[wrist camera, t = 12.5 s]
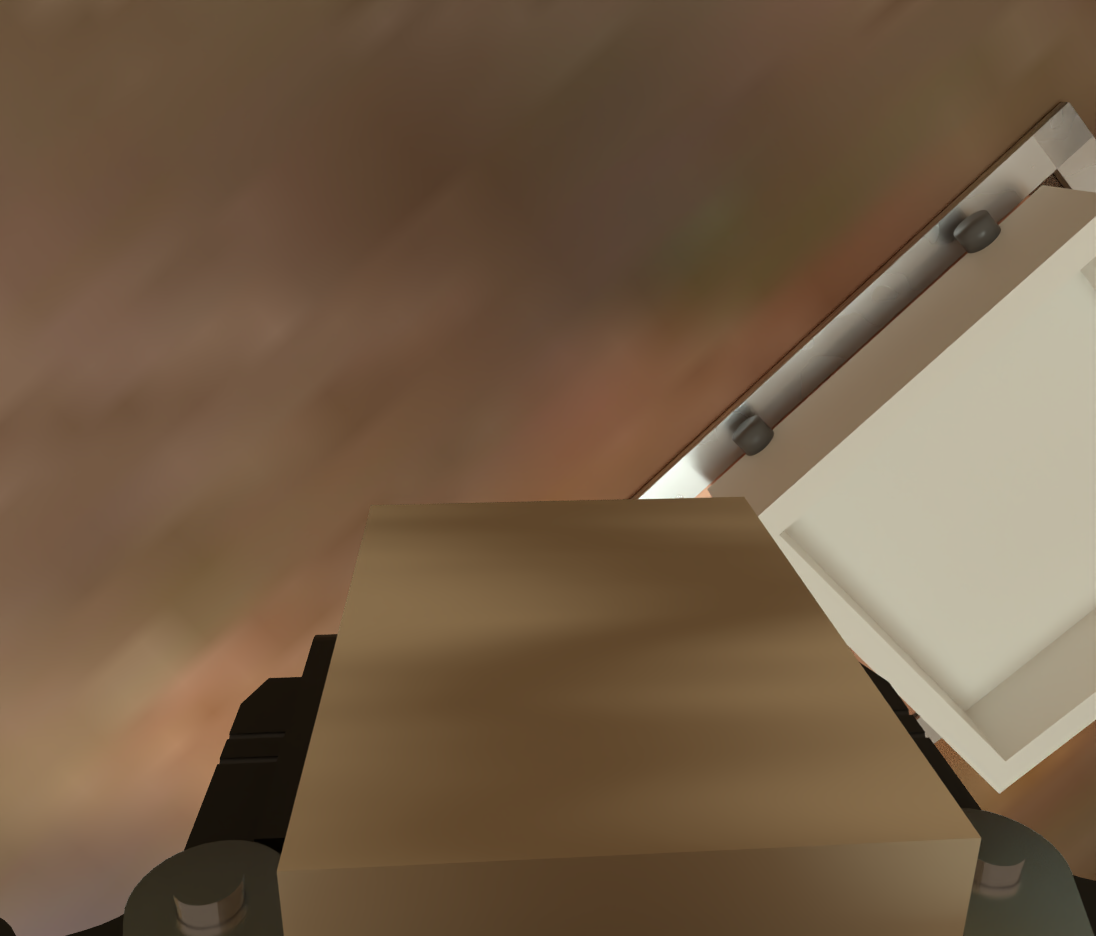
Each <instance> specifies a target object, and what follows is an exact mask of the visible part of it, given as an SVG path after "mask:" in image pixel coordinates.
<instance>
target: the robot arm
mask: <svg viewBox="0 0 1096 936" xmlns="http://www.w3.org/2000/svg"><path fill="white" fill-rule="evenodd" d="M337 635H338V634H332V635H315V637H314V639H313V642H312V645H311V648H310V652H309V655H308V658H307V662H306V665H305V668H304V672H303V675H302V677H290V678H269V679H267V680H266V681H265V682H264V683H263V684H262V685H261V686H260V687H259V688H258V689H257V690H256V691H254V692H253V693H252V694H251V695H250V696H249V697H248V698H247V699H246V700H245V701H244V702H243V703H242V704H241V705H240V708H239V710H238V713H237V715H236V718H235V720H234V723H233V726H232V728H231V731H230V733H229V735H230V737H229V739H227V741H226V744H225V746H224V749H223V751H222V754H221V757H220V764H217V767H216V769H215V772H214V775H213V777H212V780H211V782H210V785H209V787H208V790H207V793H206V795H205V798H204V800H203V803H202V805H201V808H200V811H199V813H198V816H197V818H196V821H195V823H194V826H193V829H192V831H191V834H190V836H189V839H188V841H187V844H186V847H185V849H184V851H182V852H180V853H177V854H176V855H174V856H172V857H170V858H168V859H166V860H165V861H163V862H162V863H160V864H159V865H157V866H156V867H155V868H153V869H152V870H151V871H150V872H149V873H148V874H147V875H145V876H144V877H143V878H142V880H141V881H140V882H139V883H138V884H137V885H136V887H135V888H134V890H133V891H132V893H131V895H130V896H129V898H128V901H127V903H126V906H125V910H124V914H123V915H121V916H120V917H118V918H115V919H113V920H111V921H109V922H106V923H104V924H102V925H99V926H96V927H93V928H90V929H87V930H84V931H81V932H77V933H74V934H70V935H67V936H284V932H283V923H282V914H281V905H280V896H279V888H278V879H277V868H278V864H279V861H280V857H281V853H282V849H283V845H284V841H285V837H286V833H287V829H288V826H289V822H290V818H291V814H292V810H293V806H294V802H295V798H296V795H297V791H298V787H299V783H300V779H301V775H302V771H303V767H304V763H305V760H306V756H307V752H308V748H309V744H310V740H311V736H312V732H313V728H314V725H315V721H316V717H317V713H318V709H319V705H320V701H321V697H322V693H323V690H324V686H325V682H326V678H327V674H328V670H329V666H330V662H331V659H332V655H333V651H334V647H335V643H336V639H337ZM859 663H860V662H859ZM860 664H861V663H860ZM861 666H862V667H863V668H864V670H865V671H866V673H867V674H868V676H869V677H870V679H871V680H872V681H873V683H874V684H875V686H876V687H877V689H878V690H879V691H880V693H881V694H882V696H883V697H884V699H885V700H886V702H887V703H888V704H889V706H890V707H891V709H892V710H893V712H894V713H895V714H896V716H897V717H898V719H899V720H900V722H901V723H902V725H903V726H904V727H905V729H906V730H907V732H908V733H909V735H910V736H911V737H912V739H913V740H914V742H915V743H916V745H917V746H918V748H919V749H920V750H921V752H922V753H923V755H924V756H925V758H926V759H927V760H928V762H929V763H930V765H931V766H932V768H933V769H934V771H935V772H936V773H937V775H938V776H939V778H940V779H941V781H942V782H943V783H944V785H945V786H946V788H947V789H948V791H949V792H950V793H951V795H952V796H953V798H954V799H955V801H956V802H957V804H958V805H959V806H960V808H961V809H962V811H963V812H964V814H965V815H966V816H967V818H968V819H969V821H970V822H971V824H972V825H973V827H974V828H975V829H976V831H977V832H978V834H979V835H980V837H981V843H980V848H979V853H978V859H977V864H976V869H975V874H974V880H973V885H972V890H971V895H970V901H969V906H968V911H967V917H966V922H965V927H964V932H963V936H1096V881H1093V880H1089V879H1085V878H1080V877H1077V876H1074V875H1072V872H1071V870H1070V868H1069V866H1068V864H1067V862H1066V860H1065V859H1064V858H1063V856H1062V855H1061V853H1060V852H1059V851H1058V850H1057V849H1056V848H1055V847H1054V846H1053V845H1052V844H1051V843H1050V842H1048V841H1047V840H1046V839H1045V838H1043V837H1042V836H1041V835H1039V834H1038V833H1036V832H1035V831H1033V830H1032V829H1030V828H1028V827H1026V826H1024V825H1023V824H1021V823H1019V822H1017V821H1014V820H1012V819H1009V818H1007V817H1004V816H1002V815H998V814H995V813H991V812H988V811H983V810H981V808H980V807H979V806H978V804H977V803H976V802H975V800H974V799H973V797H972V796H971V795H970V793H969V792H968V790H967V789H966V788H965V786H964V785H963V784H962V782H961V781H960V779H959V778H958V777H957V775H956V774H955V773H954V771H953V770H952V768H951V767H950V766H949V764H948V763H947V761H946V760H945V759H944V757H943V756H942V755H941V753H940V752H939V750H938V749H937V748H936V746H935V745H934V744H933V742H932V741H931V739H930V738H926V737H925V731H924V730H923V728H922V727H921V726H920V724H919V723H918V721H917V720H916V719H915V717H914V716H913V715H909V709H908V708H907V706H906V705H905V703H904V702H903V701H902V699H901V698H900V697H899V695H898V694H897V692H896V691H895V690H894V688H893V687H892V686H891V684H890V683H889V682H888V681H887V680H885V679H884V678H882V677H881V676H879V675H878V674H876V673H875V672H873V671H872V670H870V669H869V668H867V667H866V666H864V665H863V664H861ZM0 936H16V935H15V933H14V931H13V930H12V928H11V926H10V925H9V924H8V923H7V922H6V921H5V920H3V919H1V918H0Z"/></svg>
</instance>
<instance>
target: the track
mask: <svg viewBox="0 0 1096 936" xmlns="http://www.w3.org/2000/svg"><path fill="white" fill-rule="evenodd" d="M1052 173H1053V174H1054V175H1055V176H1056V178H1057V179H1058V180H1059V182H1060V183H1061V184H1062V186H1063V187H1064V188H1066V189H1073V190H1081V191H1088V192H1095V193H1096V139H1095V138H1094V136H1093V135H1092V134H1091V132H1090V131H1089V129H1088V128H1087V127H1086V125H1085V124H1084V122H1083V121H1082V120H1081V118H1080V117H1079V115H1078V114H1077V113H1076V111H1075V110H1074V108H1073V107H1072V106H1071V104H1070V103H1069V102H1060V103H1059V104H1058V105H1057V106H1056V107H1055V108H1054V109H1053V110H1052V111H1051V112H1049V113H1048V114H1047V115H1046V116H1045V117H1044V118H1043V119H1042V120H1041V121H1040V122H1039V123H1038V124H1036V125H1035V126H1034V127H1033V128H1032V129H1031V130H1030V131H1029V132H1028V133H1027V134H1026V135H1025V136H1023V137H1022V138H1021V139H1020V140H1019V141H1018V142H1017V143H1016V144H1015V145H1014V146H1013V147H1012V148H1010V149H1009V150H1008V151H1007V152H1006V153H1005V154H1004V155H1003V156H1002V157H1001V158H1000V159H999V160H997V161H996V162H995V163H994V164H993V165H992V166H991V167H990V168H989V169H988V170H987V171H986V172H984V173H983V174H982V175H981V176H980V177H979V178H978V179H977V180H976V181H975V182H974V183H973V184H971V185H970V186H969V187H968V188H967V189H966V190H965V191H964V192H963V193H962V194H961V195H960V196H958V197H957V198H956V199H955V200H954V201H953V202H952V203H951V204H950V205H949V206H948V207H947V208H945V209H944V210H943V211H942V212H941V213H940V214H939V215H938V216H937V217H936V218H935V219H934V220H932V221H931V222H930V223H929V224H928V225H927V226H926V227H925V228H924V229H923V230H922V231H921V232H919V233H918V234H917V235H916V236H915V237H914V238H913V239H912V240H911V241H910V242H909V243H908V244H906V245H905V246H904V247H903V248H902V249H901V250H900V251H899V252H898V253H897V254H896V255H895V256H893V257H892V258H891V259H890V260H889V261H888V262H887V263H886V264H885V265H884V266H883V267H882V268H880V269H879V270H878V271H877V272H876V273H875V274H874V275H873V276H872V277H871V278H870V279H869V280H867V281H866V282H865V283H864V284H863V285H862V286H861V287H860V288H859V289H858V290H857V291H856V292H854V293H853V294H852V295H851V296H850V297H849V298H848V299H847V300H846V301H845V302H844V303H843V304H841V305H840V306H839V307H838V308H837V309H836V310H835V311H834V312H833V313H832V314H831V315H830V316H828V317H827V318H826V319H825V320H824V321H823V322H822V323H821V324H820V325H819V326H818V327H817V328H815V329H814V330H813V331H812V332H811V333H810V334H809V335H808V336H807V337H806V338H805V339H804V340H802V341H801V342H800V343H799V344H798V345H797V346H796V347H795V348H794V349H793V350H792V351H790V352H789V353H788V354H787V355H786V356H785V357H784V358H783V359H782V360H781V361H780V362H779V363H777V364H776V365H775V366H774V367H773V368H772V369H771V370H770V371H769V372H768V373H767V374H766V375H764V376H763V377H762V378H761V379H760V380H759V381H758V382H757V383H756V384H755V385H754V386H753V387H751V388H750V389H749V390H748V391H747V392H746V393H745V394H744V395H743V396H742V397H741V398H740V399H738V400H737V401H736V402H735V403H734V404H733V405H732V406H731V407H730V408H729V409H728V410H727V411H725V412H724V413H723V414H722V415H721V416H720V417H719V418H718V419H717V420H716V421H715V422H714V423H712V424H711V425H710V426H709V427H708V428H707V429H706V430H705V431H704V432H703V433H702V434H701V435H699V436H698V437H697V438H696V439H695V440H694V441H693V442H692V443H691V444H690V445H689V446H688V447H686V448H685V449H684V450H683V451H682V452H681V453H680V454H679V455H678V456H677V457H676V458H675V459H673V460H672V461H671V462H670V463H669V464H668V465H667V466H666V467H665V468H664V469H663V470H662V471H660V472H659V473H658V474H657V475H656V476H655V477H654V478H653V479H652V480H651V481H650V482H649V483H647V484H646V485H645V486H644V487H643V488H642V489H641V490H640V491H639V492H638V493H637V494H636V495H634V496H633V497H632V498H631V499H667V498H710V497H712V496H711V495H710V493H709V491H708V490H707V489H708V488H709V487H710V486H711V485H712V484H713V483H715V482H716V481H717V480H718V479H719V478H720V477H721V476H722V475H723V474H724V473H726V472H727V471H728V470H729V469H730V468H731V467H732V466H733V465H734V464H735V463H737V462H738V461H739V460H740V459H741V458H742V457H743V456H744V455H745V454H746V453H745V452H744V451H743V450H742V449H741V448H740V447H739V446H738V445H737V444H736V443H735V442H734V441H733V440H732V436H733V434H734V432H735V430H736V429H737V428H738V426H739V425H740V424H741V423H742V422H744V421H745V420H746V419H748V418H750V417H752V416H755V415H758V416H760V417H761V419H762V420H763V421H764V422H765V423H766V424H767V425H768V426H769V427H770V428H771V429H772V430H773V429H774V428H775V427H776V426H777V425H778V424H780V423H781V422H782V421H783V420H784V419H785V418H786V417H787V416H788V415H789V414H791V413H792V412H793V411H794V410H795V409H796V408H797V407H798V406H799V405H801V404H802V403H803V402H804V401H805V400H806V399H807V398H808V397H809V396H810V395H812V394H813V393H814V392H815V391H816V390H817V389H818V388H819V387H820V386H821V385H823V384H824V383H825V382H826V381H827V380H828V379H829V378H830V377H831V376H833V375H834V374H835V373H836V372H837V371H838V370H839V369H840V368H841V367H842V366H844V365H845V364H846V363H847V362H848V361H849V360H850V359H851V358H852V357H853V356H855V355H856V354H857V353H858V352H859V351H860V350H861V349H862V348H863V347H864V346H866V345H867V344H868V343H869V342H870V341H871V340H872V339H873V338H874V337H876V336H877V335H878V334H879V333H880V332H881V331H882V330H883V329H884V328H885V327H887V326H888V325H889V324H890V323H891V322H892V321H893V320H894V319H895V318H896V317H898V316H899V315H900V314H901V313H902V312H903V311H904V310H905V309H906V308H907V307H909V306H910V305H911V304H912V303H913V302H914V301H915V300H916V299H917V298H919V297H920V296H921V295H922V294H923V293H924V292H925V291H926V290H927V289H928V288H930V287H931V286H932V285H933V284H934V283H935V282H936V281H937V280H938V279H939V278H941V277H942V276H943V275H944V274H945V273H946V272H947V271H948V270H949V269H950V268H952V267H953V266H954V265H955V264H956V263H957V262H958V261H959V260H960V259H962V258H963V257H964V256H965V255H966V254H967V253H968V252H967V251H966V250H965V249H964V248H963V246H962V245H961V244H960V243H959V241H958V240H957V239H956V238H955V237H954V231H955V229H956V227H957V226H958V225H959V224H960V223H961V222H962V221H963V220H964V219H965V218H967V217H968V216H970V215H971V214H973V213H975V212H977V211H980V210H987V211H988V212H989V214H990V215H991V216H992V217H993V219H994V220H995V221H996V223H997V224H998V225H999V224H1000V223H1001V222H1002V221H1003V220H1005V219H1006V218H1007V217H1008V216H1009V215H1010V214H1011V213H1012V212H1013V211H1014V210H1016V209H1017V208H1018V207H1019V206H1020V205H1021V204H1022V203H1023V202H1024V201H1025V200H1027V199H1028V198H1029V197H1030V196H1029V194H1030V193H1031V192H1032V191H1033V190H1034V189H1035V188H1036V187H1038V186H1039V185H1040V184H1041V183H1042V182H1043V181H1044V180H1045V179H1046V178H1047V177H1049V176H1050V175H1051V174H1052ZM848 647H849V646H848ZM849 648H850V647H849ZM850 650H851V651H852V653H853V654H854V656H855V657H856V658H857V660H858V661H859V662H860V663H861V664H863V665H864V666H866V667H867V668H869V669H870V670H872V669H871V668H870V667H869V666H868V665H867V664H866V663H865V662H864V661H863V660H862V659H861V658H860V657H859V656H858V655H857V654H856V653H855V652H854V651H853V650H852V649H851V648H850ZM872 671H873V670H872ZM873 672H874V671H873ZM899 697H900V696H899ZM900 698H901V697H900ZM901 699H902V698H901ZM902 701H903V702H904V703H905V705H906V706H907V708H908V709H909V715H913V716H914V717H915V719H916V720H917V721H918V723H919V724H920V726H921V727H922V728H923V730H924V731H925V737H926V738H930V739H931V741H932V742H933V744H934V743H936V742H937V741H938V740H939V739H941V738H942V737H941V736H940V735H939V734H938V733H937V732H936V731H935V730H934V729H933V728H932V727H931V726H930V725H929V724H928V723H926V722H925V721H924V720H923V719H922V718H921V717H920V716H919V715H918V714H917V713H916V712H915V711H914V710H913V709H912V708H911V707H910V706H909V705H908V704H907V703H906V702H905V701H904V700H903V699H902Z"/></svg>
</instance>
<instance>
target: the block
mask: <svg viewBox="0 0 1096 936" xmlns="http://www.w3.org/2000/svg"><path fill="white" fill-rule="evenodd" d="M980 843H981V837H980V835H979V834H978V832H977V831H976V829H975V828H974V827H973V825H972V824H971V822H970V821H969V819H968V818H967V816H966V815H965V814H964V812H963V811H962V809H961V808H960V806H959V805H958V804H957V802H956V801H955V799H954V798H953V796H952V795H951V793H950V792H949V791H948V789H947V788H946V786H945V785H944V783H943V782H942V781H941V779H940V778H939V776H938V775H937V773H936V772H935V771H934V769H933V768H932V766H931V765H930V763H929V762H928V760H927V759H926V758H925V756H924V755H923V753H922V752H921V750H920V749H919V748H918V746H917V745H916V743H915V742H914V740H913V739H912V737H911V736H910V735H909V733H908V732H907V730H906V729H905V727H904V726H903V725H902V723H901V722H900V720H899V719H898V717H897V716H896V714H895V713H894V712H893V710H892V709H891V707H890V706H889V704H888V703H887V702H886V700H885V699H884V697H883V696H882V694H881V693H880V691H879V690H878V689H877V687H876V686H875V684H874V683H873V681H872V680H871V679H870V677H869V676H868V674H867V673H866V671H865V670H864V668H863V667H862V666H861V664H860V663H859V661H858V660H857V658H856V657H855V656H854V654H853V653H852V651H851V650H850V648H849V647H848V645H847V644H846V643H845V641H844V640H843V638H842V637H841V635H840V634H839V633H838V631H837V630H836V628H835V627H834V625H833V624H832V622H831V621H830V620H829V618H828V617H827V615H826V614H825V612H824V611H823V610H822V608H821V607H820V605H819V604H818V602H817V601H816V600H815V598H814V597H813V595H812V594H811V592H810V591H809V589H808V588H807V587H806V585H805V584H804V582H803V581H802V579H801V578H800V577H799V575H798V574H797V572H796V571H795V569H794V568H793V566H792V565H791V564H790V562H789V561H788V559H787V558H786V556H785V555H784V554H783V552H782V551H781V549H780V548H779V546H778V545H777V543H776V542H775V541H774V539H773V538H772V536H771V535H770V533H769V532H768V531H767V529H766V528H765V526H764V525H763V523H762V522H761V520H760V519H759V518H758V516H757V515H756V513H755V512H754V510H753V509H752V508H751V506H750V505H749V503H748V502H747V500H746V499H745V497H710V498H667V499H623V500H580V501H536V502H493V503H449V504H406V505H371V507H370V511H369V515H368V519H367V523H366V526H365V530H364V534H363V538H362V542H361V546H360V550H359V554H358V557H357V561H356V565H355V569H354V573H353V577H352V581H351V585H350V589H349V592H348V596H347V600H346V604H345V608H344V612H343V616H342V620H341V624H340V627H339V631H338V635H337V639H336V643H335V647H334V651H333V655H332V659H331V662H330V666H329V670H328V674H327V678H326V682H325V686H324V690H323V693H322V697H321V701H320V705H319V709H318V713H317V717H316V721H315V725H314V728H313V732H312V736H311V740H310V744H309V748H308V752H307V756H306V760H305V763H304V767H303V771H302V775H301V779H300V783H299V787H298V791H297V795H296V798H295V802H294V806H293V810H292V814H291V818H290V822H289V826H288V829H287V833H286V837H285V841H284V845H283V849H282V853H281V857H280V861H279V864H278V868H277V879H278V888H279V896H280V905H281V914H282V923H283V932H284V936H963V932H964V927H965V922H966V917H967V911H968V906H969V901H970V895H971V890H972V885H973V880H974V874H975V869H976V864H977V859H978V853H979V848H980Z"/></svg>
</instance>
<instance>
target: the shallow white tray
mask: <svg viewBox="0 0 1096 936" xmlns="http://www.w3.org/2000/svg"><path fill="white" fill-rule="evenodd" d="M954 237H955V238H956V239H957V240H958V241H959V243H960V244H961V245H962V246H963V248H964V249H965V250H966V251H967V252H968V253H967V254H966V255H965V256H964V257H963V258H962V259H960V260H959V261H958V262H957V263H956V264H955V265H954V266H953V267H952V268H950V269H949V270H948V271H947V272H946V273H945V274H944V275H943V276H942V277H941V278H939V279H938V280H937V281H936V282H935V283H934V284H933V285H932V286H931V287H930V288H928V289H927V290H926V291H925V292H924V293H923V294H922V295H921V296H920V297H919V298H917V299H916V300H915V301H914V302H913V303H912V304H911V305H910V306H909V307H907V308H906V309H905V310H904V311H903V312H902V313H901V314H900V315H899V316H898V317H896V318H895V319H894V320H893V321H892V322H891V323H890V324H889V325H888V326H887V327H885V328H884V329H883V330H882V331H881V332H880V333H879V334H878V335H877V336H876V337H874V338H873V339H872V340H871V341H870V342H869V343H868V344H867V345H866V346H864V347H863V348H862V349H861V350H860V351H859V352H858V353H857V354H856V355H855V356H853V357H852V358H851V359H850V360H849V361H848V362H847V363H846V364H845V365H844V366H842V367H841V368H840V369H839V370H838V371H837V372H836V373H835V374H834V375H833V376H831V377H830V378H829V379H828V380H827V381H826V382H825V383H824V384H823V385H821V386H820V387H819V388H818V389H817V390H816V391H815V392H814V393H813V394H812V395H810V396H809V397H808V398H807V399H806V400H805V401H804V402H803V403H802V404H801V405H799V406H798V407H797V408H796V409H795V410H794V411H793V412H792V413H791V414H789V415H788V416H787V417H786V418H785V419H784V420H783V421H782V422H781V423H780V424H778V425H777V426H776V427H775V428H774V429H773V430H772V429H771V428H770V427H769V426H768V425H767V424H766V423H765V422H764V421H763V420H762V419H761V417H760V416H758V415H755V416H752V417H750V418H748V419H746V420H745V421H744V422H742V423H741V424H740V425H739V426H738V428H737V429H736V430H735V432H734V434H733V436H732V440H733V441H734V442H735V443H736V444H737V445H738V446H739V447H740V448H741V449H742V450H743V451H744V452H745V453H746V454H745V455H744V456H743V457H742V458H741V459H740V460H739V461H738V462H737V463H735V464H734V465H733V466H732V467H731V468H730V469H729V470H728V471H727V472H726V473H724V474H723V475H722V476H721V477H720V478H719V479H718V480H717V481H716V482H715V483H713V484H712V485H711V486H710V487H709V488H708V489H707V490H708V491H709V493H710V495H711V496H712V497H745V499H746V500H747V502H748V503H749V505H750V506H751V508H752V509H753V510H754V512H755V513H756V515H757V516H758V518H759V519H760V520H761V522H762V523H763V525H764V526H765V528H766V529H767V531H768V532H769V533H770V535H771V536H772V538H773V539H774V541H775V542H776V543H777V545H778V546H779V548H780V549H781V551H782V552H783V554H784V555H785V556H786V558H787V559H788V561H789V562H790V564H791V565H792V566H793V568H794V569H795V571H796V572H797V574H798V575H799V577H800V578H801V579H802V581H803V582H804V584H805V585H806V587H807V588H808V589H809V591H810V592H811V594H812V595H813V597H814V598H815V600H816V601H817V602H818V604H819V605H820V607H821V608H822V610H823V611H824V612H825V614H826V615H827V617H828V618H829V620H830V621H831V622H832V624H833V625H834V627H835V628H836V630H837V631H838V633H839V634H840V635H841V637H842V638H843V640H844V641H845V643H846V644H847V645H848V646H849V647H850V648H851V649H852V650H853V651H854V652H855V653H856V654H857V655H858V656H859V657H860V658H861V659H862V660H863V661H864V662H865V663H866V664H867V665H868V666H869V667H870V668H871V669H872V670H873V671H874V672H875V673H876V674H878V675H879V676H881V677H882V678H884V679H885V680H887V681H888V682H889V683H890V684H891V686H892V687H893V688H894V690H895V691H896V692H897V694H898V695H899V696H900V697H901V698H902V699H903V700H904V701H905V702H906V703H907V704H908V705H909V706H910V707H911V708H912V709H913V710H914V711H915V712H916V713H917V714H918V715H919V716H920V717H921V718H922V719H923V720H924V721H925V722H926V723H928V724H929V725H930V726H931V727H932V728H933V729H934V730H935V731H936V732H937V733H938V734H939V735H940V736H941V737H942V738H943V739H944V740H945V741H946V742H947V743H948V744H949V745H950V746H951V747H952V748H953V749H954V750H955V751H956V752H957V753H958V754H959V755H960V756H961V757H962V758H963V759H964V760H965V761H966V762H967V763H968V764H969V765H970V766H971V767H972V768H973V769H974V770H976V771H977V772H978V773H979V774H980V775H981V776H982V777H983V778H984V779H985V780H986V781H987V782H988V783H989V784H990V785H991V786H992V787H993V788H994V789H995V790H996V791H997V792H998V793H1001V792H1002V791H1003V790H1005V789H1006V788H1007V787H1009V786H1010V785H1011V784H1012V783H1014V782H1015V781H1016V780H1018V779H1019V778H1020V777H1022V776H1023V775H1024V774H1026V773H1027V772H1028V771H1029V770H1031V769H1032V768H1033V767H1035V766H1036V765H1037V764H1039V763H1040V762H1041V761H1042V760H1044V759H1045V758H1046V757H1048V756H1049V755H1050V754H1052V753H1053V752H1054V751H1055V750H1057V749H1058V748H1059V747H1061V746H1062V745H1063V744H1065V743H1066V742H1067V741H1069V740H1070V739H1071V738H1072V737H1074V736H1075V735H1076V734H1078V733H1079V732H1080V731H1082V730H1083V729H1084V728H1085V727H1087V726H1088V725H1089V724H1091V723H1092V722H1093V721H1095V720H1096V193H1095V192H1088V191H1081V190H1073V189H1066V188H1059V187H1052V186H1045V185H1042V186H1041V187H1040V188H1039V189H1038V190H1036V191H1035V192H1034V193H1033V194H1032V195H1031V196H1030V197H1029V198H1028V199H1027V200H1025V201H1024V202H1023V203H1022V204H1021V205H1020V206H1019V207H1018V208H1017V209H1016V210H1014V211H1013V212H1012V213H1011V214H1010V215H1009V216H1008V217H1007V218H1006V219H1005V220H1003V221H1002V222H1001V223H1000V224H999V225H998V224H997V223H996V221H995V220H994V219H993V217H992V216H991V215H990V214H989V212H988V211H987V210H980V211H977V212H975V213H973V214H971V215H970V216H968V217H967V218H965V219H964V220H963V221H962V222H961V223H960V224H959V225H958V226H957V227H956V229H955V231H954Z"/></svg>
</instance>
